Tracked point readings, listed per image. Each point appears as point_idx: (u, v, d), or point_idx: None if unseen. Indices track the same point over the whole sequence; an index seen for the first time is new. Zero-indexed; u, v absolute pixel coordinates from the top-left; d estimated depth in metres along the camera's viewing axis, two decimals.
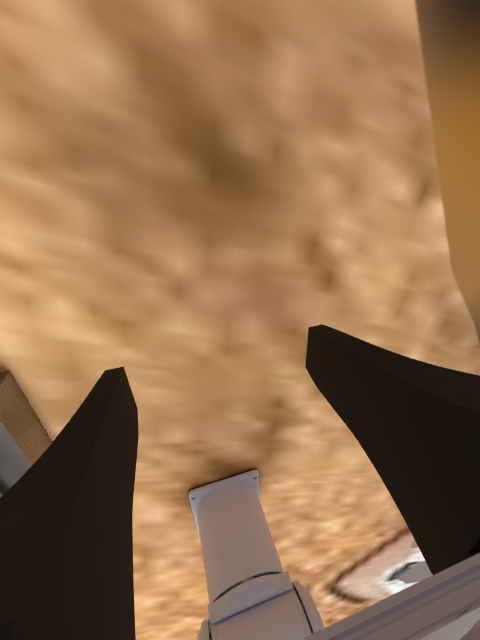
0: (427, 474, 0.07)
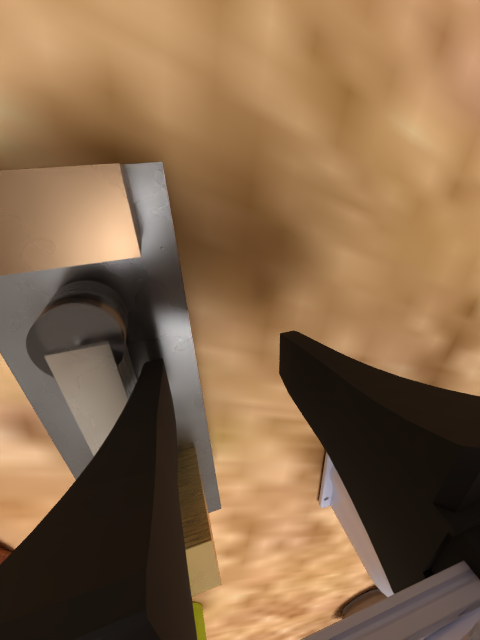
0: (385, 490, 0.07)
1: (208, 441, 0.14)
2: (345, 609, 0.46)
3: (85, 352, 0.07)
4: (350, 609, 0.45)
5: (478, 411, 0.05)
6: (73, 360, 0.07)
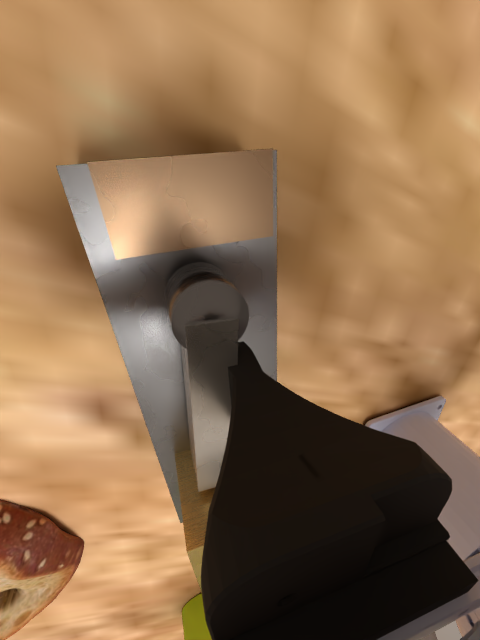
0: None
1: None
2: None
3: (218, 325, 0.08)
4: None
5: (362, 450, 0.05)
6: (206, 332, 0.08)
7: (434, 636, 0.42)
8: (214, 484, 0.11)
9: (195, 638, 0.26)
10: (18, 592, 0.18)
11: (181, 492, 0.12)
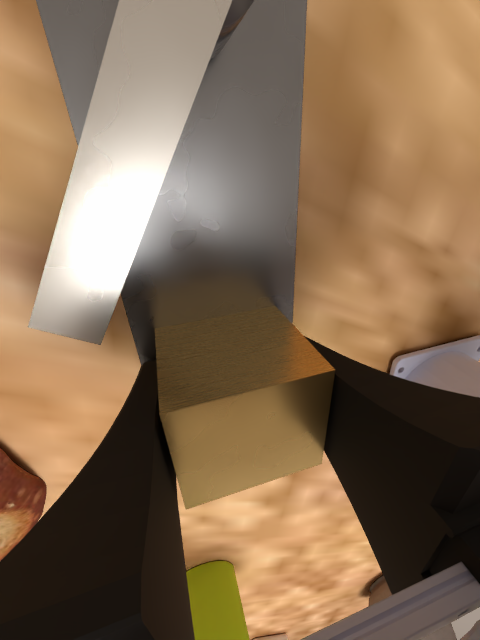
0: (383, 491, 0.07)
1: (291, 299, 0.11)
2: (373, 586, 0.43)
3: None
4: (380, 585, 0.42)
5: (476, 412, 0.05)
6: None
7: (453, 635, 0.38)
8: (63, 328, 0.06)
9: None
10: None
11: (159, 359, 0.08)
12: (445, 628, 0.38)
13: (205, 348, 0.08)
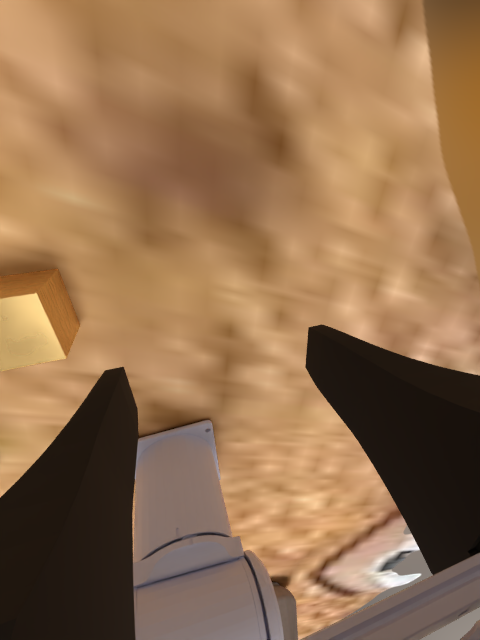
0: (427, 474, 0.07)
1: None
2: None
3: None
4: None
5: None
6: None
7: None
8: None
9: None
10: None
11: None
12: None
13: None
